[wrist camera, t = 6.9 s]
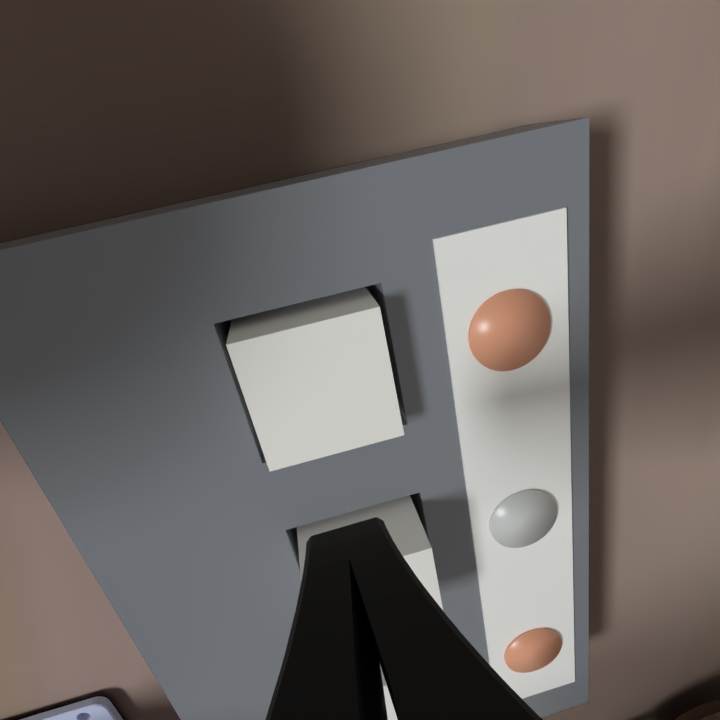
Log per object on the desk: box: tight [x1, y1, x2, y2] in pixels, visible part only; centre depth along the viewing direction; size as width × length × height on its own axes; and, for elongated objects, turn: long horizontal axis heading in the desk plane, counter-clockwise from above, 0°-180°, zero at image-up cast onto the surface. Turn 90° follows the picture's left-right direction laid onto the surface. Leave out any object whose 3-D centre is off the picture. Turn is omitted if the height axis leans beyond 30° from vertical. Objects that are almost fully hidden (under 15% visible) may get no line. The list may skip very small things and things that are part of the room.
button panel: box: [0, 118, 589, 720], centre depth 17 cm, size 16×24×3 cm, turn 11°
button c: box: [226, 287, 404, 472], centre depth 14 cm, size 4×4×3 cm
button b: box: [297, 495, 443, 610], centre depth 16 cm, size 4×4×3 cm
